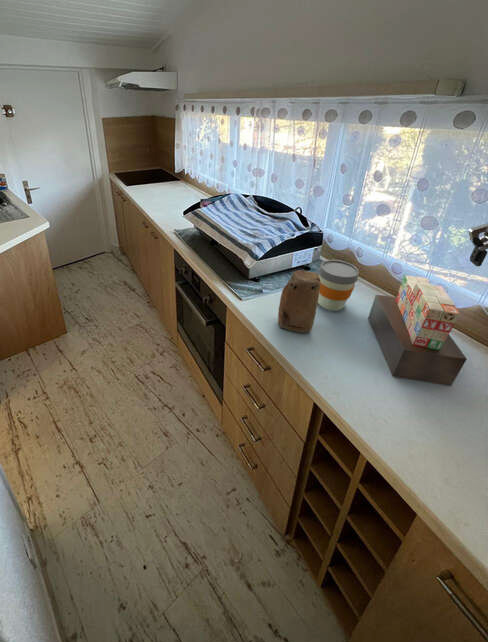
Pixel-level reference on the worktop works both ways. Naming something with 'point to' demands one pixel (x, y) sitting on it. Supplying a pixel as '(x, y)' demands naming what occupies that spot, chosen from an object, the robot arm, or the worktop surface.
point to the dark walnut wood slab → (411, 347)
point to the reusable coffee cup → (336, 283)
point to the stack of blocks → (426, 312)
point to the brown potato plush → (299, 301)
